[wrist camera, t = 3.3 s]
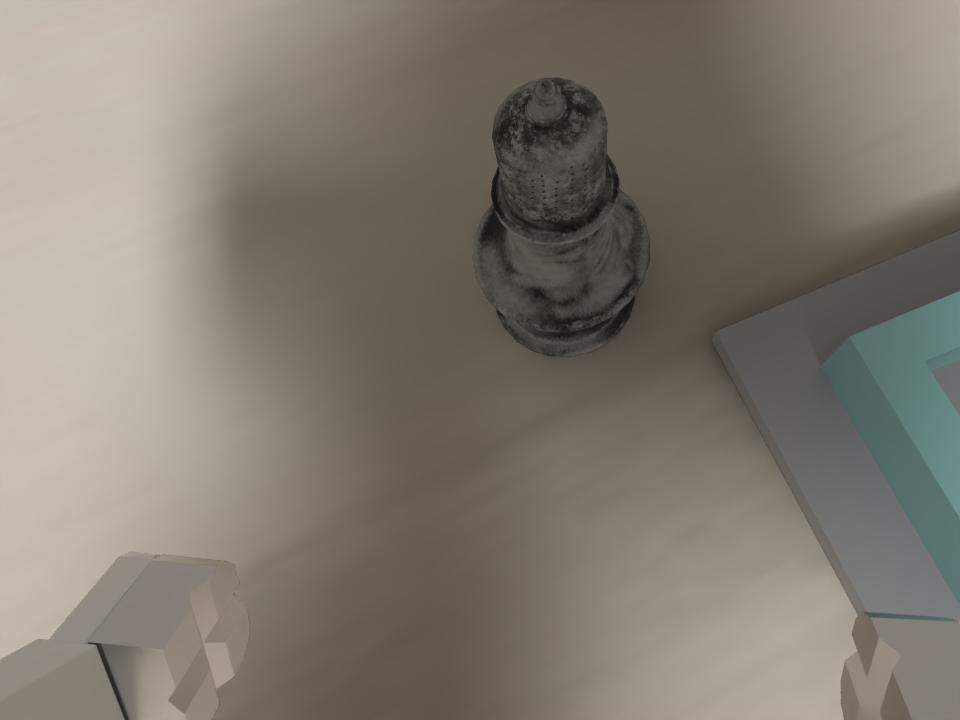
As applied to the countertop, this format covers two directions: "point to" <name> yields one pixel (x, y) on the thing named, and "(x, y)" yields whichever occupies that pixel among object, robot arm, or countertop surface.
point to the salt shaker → (558, 224)
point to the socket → (868, 422)
